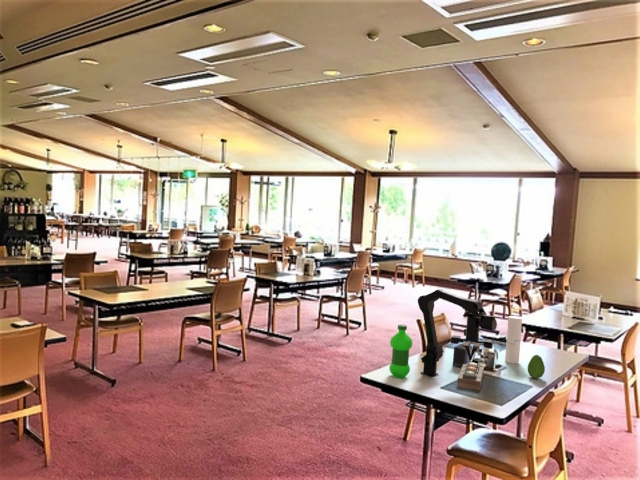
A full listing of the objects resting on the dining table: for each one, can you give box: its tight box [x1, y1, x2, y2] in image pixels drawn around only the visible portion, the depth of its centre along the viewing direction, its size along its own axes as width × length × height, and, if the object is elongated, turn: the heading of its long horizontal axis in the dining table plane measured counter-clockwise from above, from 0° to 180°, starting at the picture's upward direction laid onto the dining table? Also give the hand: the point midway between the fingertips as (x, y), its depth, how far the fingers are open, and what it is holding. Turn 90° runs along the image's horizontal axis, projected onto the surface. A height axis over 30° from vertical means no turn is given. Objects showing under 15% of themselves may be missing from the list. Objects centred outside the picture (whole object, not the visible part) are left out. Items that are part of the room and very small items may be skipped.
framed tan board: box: [456, 363, 485, 391], centre depth 252 cm, size 26×10×6 cm, turn 159°
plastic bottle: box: [389, 324, 413, 379], centre depth 251 cm, size 10×10×25 cm
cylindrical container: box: [504, 315, 523, 364], centre depth 289 cm, size 7×7×25 cm
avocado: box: [527, 354, 546, 380], centre depth 261 cm, size 8×8×12 cm
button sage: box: [466, 371, 475, 376], centre depth 244 cm, size 4×4×2 cm
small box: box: [452, 343, 473, 369], centre depth 276 cm, size 11×6×10 cm, turn 143°
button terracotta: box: [467, 367, 476, 371], centre depth 252 cm, size 4×4×2 cm
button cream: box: [469, 361, 478, 367], centre depth 259 cm, size 4×4×2 cm
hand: (470, 359), depth 244 cm, fingers closed
